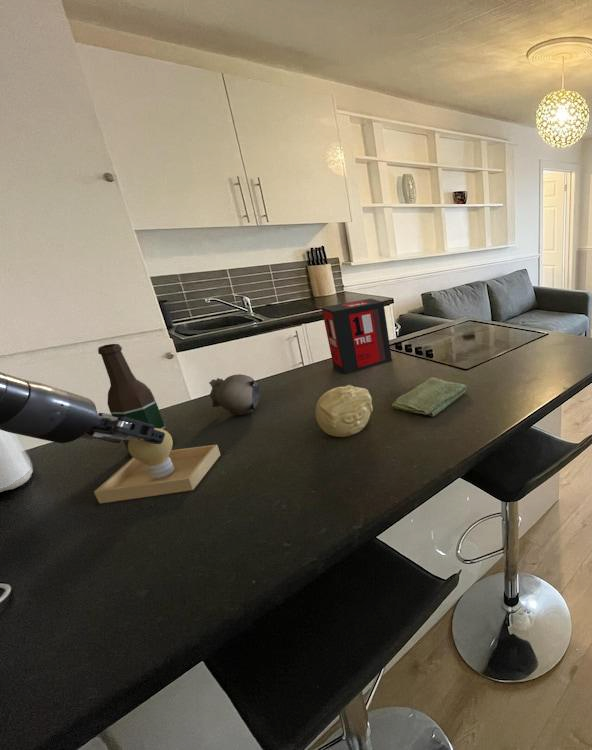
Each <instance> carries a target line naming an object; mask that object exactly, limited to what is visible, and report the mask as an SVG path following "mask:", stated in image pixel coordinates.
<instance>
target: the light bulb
mask: <svg viewBox="0 0 592 750" xmlns="http://www.w3.org/2000/svg"><path fill="white" fill-rule="evenodd" d="M154 430H157V431H161V432H164V433H165V436H164V439H163V442H162V443H161V444H153V443H150V442H146V441H142V440H141V441H139V440H136V439H130V440H129V442H128V450H129V452H128V454H129V453H130V454H131V455H132V456H133V457H134V458H135V459H137V460H139V461H141V462H143V463H146V464H147V465H146V467H147V469H148V472H149V473H150V477H151V478H153V479H162V478H165V477H167V476H169V475H171V474H172V472H173V471H174V466H173V464H172V462H171V459H170V457H168V455H169V453H170V451H171V450H173V444H174V441H173V438H172V435H171V433H169V432H167V431H168V430H167V431H165V430H163V429H159V428H154ZM128 450H127V451H128ZM130 454H129V455H130ZM133 457H132V458H133Z"/></svg>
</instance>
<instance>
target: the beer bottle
mask: <svg viewBox="0 0 592 750" xmlns="http://www.w3.org/2000/svg"><path fill="white" fill-rule="evenodd" d="M122 347H123V346H121V345H120V344H119V343H110V344H104V345H101V346H98V348H97V353H98V355H100V356H101V359H102V361H103V365H104V368H105V370H106V373H107V376H108V379H109V384H110V387H109V389H108V392H107V406H108V410H109V414H110V415H112V416H113V417H119V416H125V417H127V418H131V419H134V420H137V421H141V422H144V423H148V424H153V425H154V426H155V428H159V429H163V430H165V431H167V432H168V429H167V425H166V424H165V422H164V418H163V415H162V414H161V412H160V409H159V406H158V403H157V401H156V399H155V395H154V394H153V392H152V390H151V389H150V387H148V385H146V384H145V383H144V382H142V381H141V380H139V379H137V378H136V376H135V375H134V374H133V372H132V370H131V368H130V365H129V363H128V362H127V359H126V358H125V355H124V354H123V352H122V350H123V348H122ZM168 433H169V432H168ZM129 440H130V438H126V439H125V440H122V442H123V444H124V446H125V449H126V451H127V452H128V454H129V456H130V457H131V458H133V456H132V455H131V454H130V453H129V450H128V442H129Z"/></svg>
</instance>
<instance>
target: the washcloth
mask: <svg viewBox="0 0 592 750" xmlns="http://www.w3.org/2000/svg"><path fill="white" fill-rule="evenodd" d="M467 389H468V387H467V385H466V384H463V383H458V382H453V381H446V380H443V379H441V378H437V377H430V378H428V379H427V380H426V381H424V382H423V383H420V384H418V385H417V386H415V387H414V388H412V389H411V390H409V391H408V392H406V393H404V394H402V395H399V396H398V397H397V398H396V399H395V400H394V401H393V402H392V404H391V407H394V409H396V410H401V411H404V412H410V413H414V414H421V415H424V416H426V415H427V416H430V417H435V416H437V415H439V413H440V412H442V411H444V410H445V408H447V407H448V406H450V405H451V404H452V403H453V402H455V401H456V400H458V399H459V398H460V397H462V395H464V394H465V393H466V391H467Z"/></svg>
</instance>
